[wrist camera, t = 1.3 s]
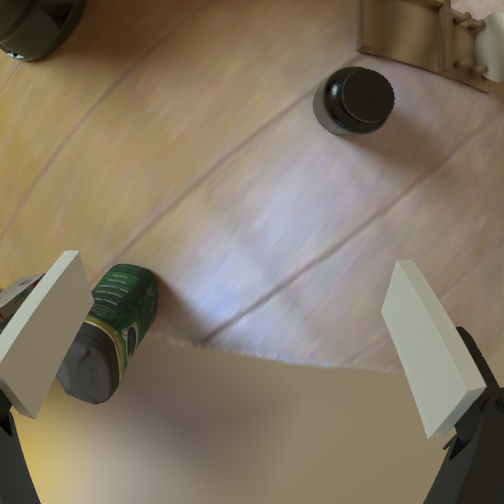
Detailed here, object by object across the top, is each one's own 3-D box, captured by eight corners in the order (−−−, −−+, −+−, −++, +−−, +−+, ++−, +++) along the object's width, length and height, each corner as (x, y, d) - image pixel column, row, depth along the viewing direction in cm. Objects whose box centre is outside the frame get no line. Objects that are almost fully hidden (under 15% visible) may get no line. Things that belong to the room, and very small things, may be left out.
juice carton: (44, 273, 44) (-46, 348, 23) (59, 310, 46) (-18, 394, 25) (19, 278, 45) (-65, 346, 24) (34, 312, 47) (-41, 388, 26)
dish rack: (356, 51, 32) (386, 25, 22) (358, -20, 28) (384, -58, 18) (485, 92, 32) (535, 89, 22) (484, 26, 28) (528, 11, 18)
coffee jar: (108, 257, 42) (32, 327, 25) (160, 267, 43) (102, 350, 25) (110, 315, 46) (51, 396, 28) (158, 326, 46) (113, 418, 28)
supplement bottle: (362, 78, 33) (400, 58, 22) (370, 133, 35) (411, 134, 24) (307, 81, 34) (325, 58, 22) (315, 137, 36) (336, 137, 25)
